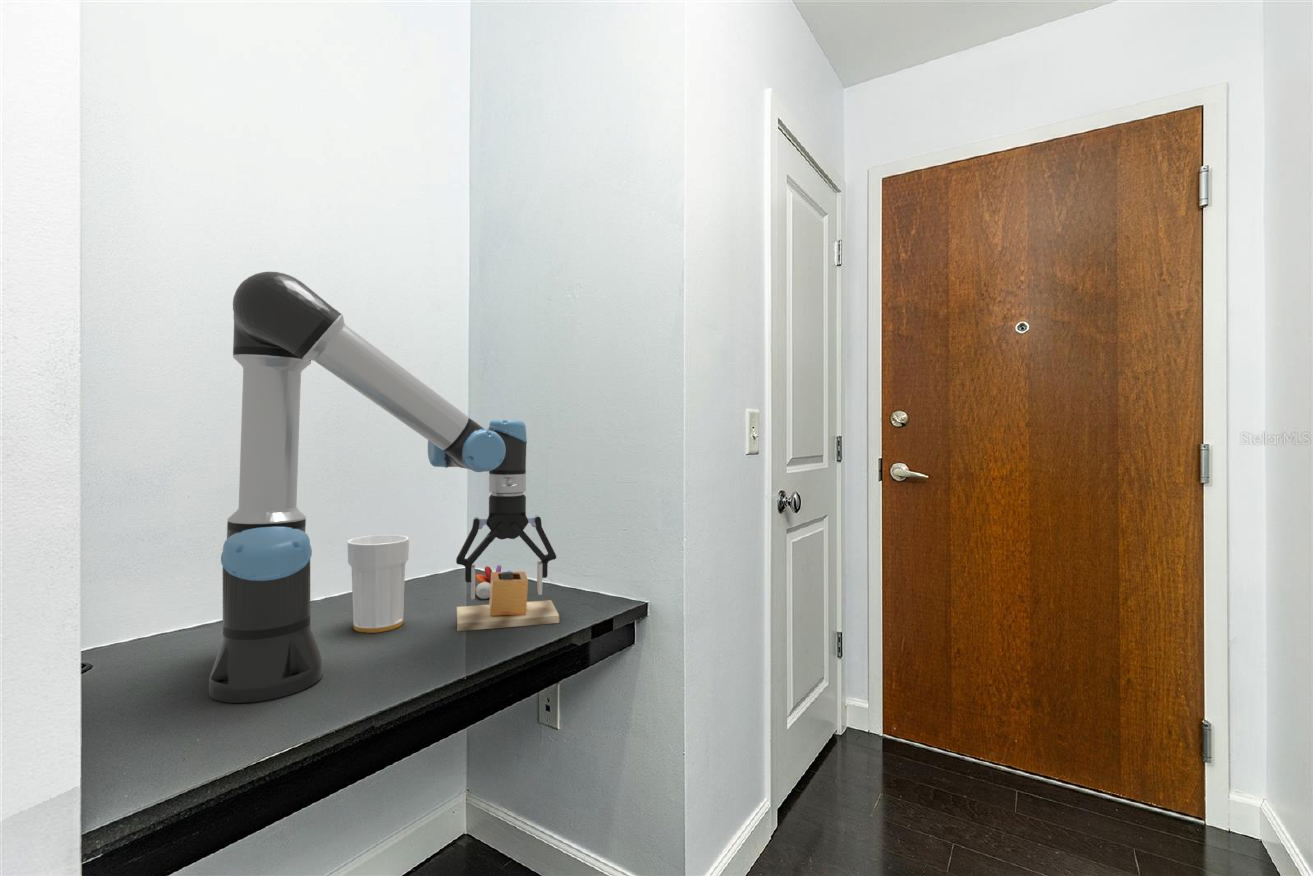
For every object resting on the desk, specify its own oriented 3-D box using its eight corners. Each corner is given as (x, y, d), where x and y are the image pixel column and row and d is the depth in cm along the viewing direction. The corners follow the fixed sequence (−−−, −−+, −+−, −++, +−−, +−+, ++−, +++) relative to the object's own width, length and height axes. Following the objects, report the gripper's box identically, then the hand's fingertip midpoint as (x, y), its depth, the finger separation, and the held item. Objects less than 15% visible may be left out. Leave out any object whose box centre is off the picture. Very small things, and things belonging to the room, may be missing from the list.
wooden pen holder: (490, 615, 129) (493, 581, 129) (489, 604, 136) (491, 571, 135) (525, 614, 131) (528, 581, 131) (522, 603, 138) (524, 571, 137)
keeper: (456, 631, 125) (457, 583, 125) (456, 614, 136) (457, 569, 136) (559, 622, 131) (559, 576, 130) (551, 606, 142) (551, 564, 142)
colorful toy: (475, 591, 155) (476, 562, 155) (516, 590, 157) (516, 561, 156) (471, 601, 147) (471, 569, 146) (514, 599, 148) (515, 568, 148)
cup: (416, 627, 127) (417, 540, 127) (356, 638, 120) (356, 546, 120) (398, 614, 136) (398, 532, 136) (340, 624, 129) (340, 538, 128)
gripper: (444, 497, 126) (443, 604, 126) (570, 494, 133) (569, 595, 133) (444, 493, 133) (444, 594, 133) (564, 491, 140) (563, 587, 141)
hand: (506, 595), depth 133 cm, fingers open, 13 cm apart
